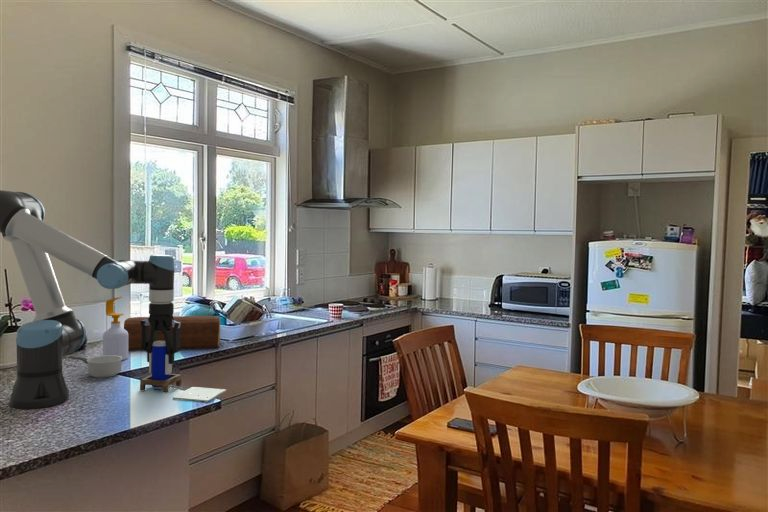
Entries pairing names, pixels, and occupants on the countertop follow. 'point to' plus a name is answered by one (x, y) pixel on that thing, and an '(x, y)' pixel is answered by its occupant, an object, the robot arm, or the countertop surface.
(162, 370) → the beverage can
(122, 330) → the soap bottle
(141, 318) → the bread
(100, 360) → the saucepan
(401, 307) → the countertop surface
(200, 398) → the coaster
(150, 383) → the brown square stand
